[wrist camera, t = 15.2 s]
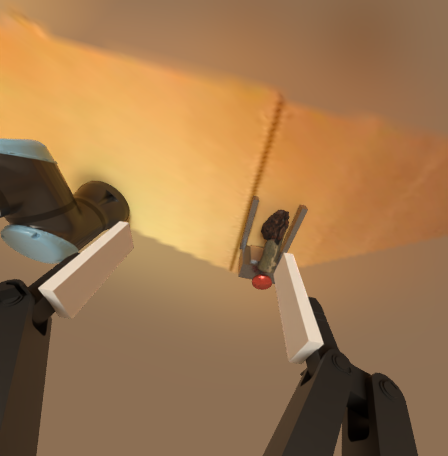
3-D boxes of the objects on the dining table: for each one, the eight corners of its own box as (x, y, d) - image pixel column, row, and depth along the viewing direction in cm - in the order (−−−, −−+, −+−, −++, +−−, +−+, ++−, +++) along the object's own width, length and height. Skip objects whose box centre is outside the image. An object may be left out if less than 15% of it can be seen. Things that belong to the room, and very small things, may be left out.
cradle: (236, 256, 61) (234, 285, 51) (253, 195, 48) (255, 217, 37) (277, 264, 61) (283, 294, 51) (305, 205, 48) (321, 229, 37)
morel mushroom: (272, 271, 50) (276, 276, 44) (250, 264, 51) (251, 268, 45) (290, 213, 49) (295, 211, 43) (267, 207, 50) (270, 204, 44)
